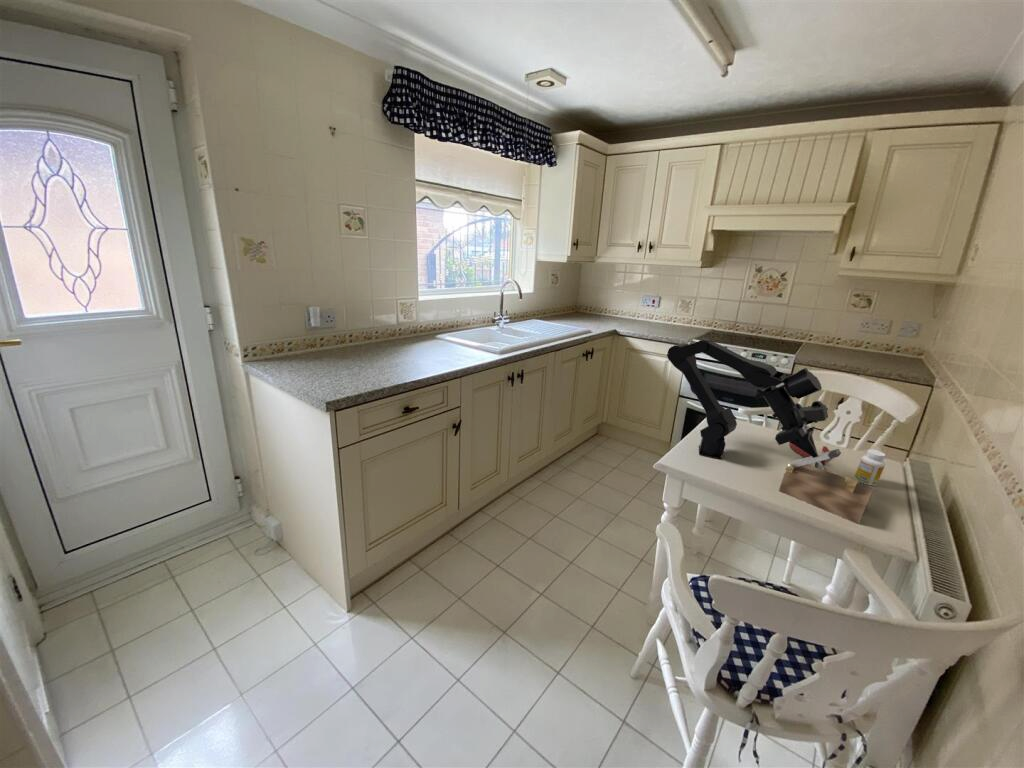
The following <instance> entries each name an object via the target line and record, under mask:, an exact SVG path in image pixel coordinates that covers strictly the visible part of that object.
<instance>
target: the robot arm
mask: <svg viewBox="0 0 1024 768" xmlns="http://www.w3.org/2000/svg"><path fill="white" fill-rule="evenodd" d="M698 354H704V355H706V356H708V357H710V358H712V359H713V360H716V361H718V362H719V363H722V364H723V365H725V366H727V367H729V368H731V369H733V370H735V371H736V372H737V373H739V374H740V375H741V376H742V377H743V378H744V380H746V381H747V382H748V383H749V384H751V385H753V386H754V387H756V388H757V389H756V393H755V397H754V398H755V400H758V399H760V398H762V397H763V398H764V400H765V401H766V402H767V404H768V406H769V408H770V409H771V411H772V412H773V414H772V417H773V418H774V419H776V418H777V420H778V421H779V423H780V425H781V427H780V431H778V433H776V434H775V438H774V441H776V443H777V444H778V446H781V445H784V444H787V443H789V442H790V443H792V444H794V445H795V446H797V447H799V448H800V449H802V450H803V451H805V452H806V453H808V454H809V455H811V456H812V457H816V456H818V454H819V453H818V450H817V447H816V444H815V441H814V438H813V433H814V431H815V429H816V426H812V427H809V425H810V424H813V423H814V424H817V423H819V422H824V421H826V420H827V419H828V418H829V412H828V410H829V408H828V407H827V405H826V404H823V402H822V401H820V400H815V401H813V402H812V403H811V406H810V405H808V406H803V405H802V404H801V403H798V402H797V403H795V401H794V399H793V398H796V399H798V400H800V399H802V398H806V397H807V396H809V395H812V394H814V393H816V392H819V391H821V390H822V389H823V387H822V384H821V382H820V380H819V378H818V377H817V376H816V375H814V373H812V372H811V371H809V369H808V368H807V367H804V368H802V369H800V370H798V371H797V372H796V373H793V374H791V375H789V374H787V373H785V372H782V371H779V370H777V368H776V367H775V366H774V365H772V364H768V363H766V362H763V361H760V360H759V361H758V360H753V359H749V358H747V357H745V356H744V355H743V356H742V355H740V353H739V354H738V353H737V352H734V351H733V350H731V349H729V348H727V347H725V346H722V345H721V344H719V343H717V342H715V341H713V340H712V339H711V338H704V339H701V340H700V339H699V340H698V341H696V342H694V343H690V344H689V343H679V344H675V345H673V346H671V347H669V348H668V350H667V354H666V358H667V359H668V361H669V362H670V363H671V365H673V367H674V368H676V369H677V370H678V371H680V372H681V373H682V374H683V375H684V378H685V379H686V381H687V383H688V384H689V386H690V388H691V390H692V391H693V393H694V395H695V396H696V398H697V400H698V401H699V403H700V405H701V406H702V408H703V410H704V412H705V418H706V423H707V426H706V427H704V428H702V429H700V431H699V432H700V437H701V440H700V444H699V445H698V455H699V456H704V457H708V458H712V459H717V460H721V459H722V456H723V455H724V451H725V448H726V441H725V439H726V438H725V437H726V436H728V435H729V434H731V433H732V432H734V431H735V430H736V428H737V425H738V423H737V419H738V418H737V416H736V415H734V413H733V411H732V409H731V407H727V408H725V407H723V406H722V405H721V404H720V402H719V401H718V399H717V398H716V396H715V394H714V393H713V391H712V389H711V387H710V386H709V384H708V383H707V381H706V379H705V377H704V376H703V374H702V372H701V371H700V369H699V367H698V364H697V356H696V355H698ZM781 384H782V385H781ZM779 385H780V386H779ZM767 386H768V387H767ZM802 406H803V407H802ZM807 425H808V426H807Z"/></svg>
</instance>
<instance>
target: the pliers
mask: <svg viewBox="0 0 1024 768" xmlns="http://www.w3.org/2000/svg"><path fill="white" fill-rule="evenodd" d="M788 445H789V448H790V450H792V451H793V452H794V453H796V454H797V455H799V456H800V457H802V458H806V457H810V456H811V455H809V454H808V453H806V452H805V451H803V450H802V449H800V448H799V447H797V446H795V445H794V444H792V443H790V442H788ZM821 451H822V453H823V452H824V453H825V452H829V451H830V450H829V448H828V447H827V446H822V449H821ZM826 462H827V460H823V461H819V462H815V463H811V464H809V465H811V466H814V467H818V468H819V469H822V470H825V469H824V466H825V465H826ZM815 465H817V466H815ZM823 465H824V466H823Z"/></svg>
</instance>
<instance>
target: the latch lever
mask: <svg viewBox="0 0 1024 768" xmlns="http://www.w3.org/2000/svg"><path fill="white" fill-rule="evenodd" d="M841 454H842V451H841V450H840V449H839V448H836V449H833V450H829V452H825V453H823V452H822V453H818V456H816V457H812V456H810V457H806V458H803V457H802V458H798V459H796V460H794V461H793V460H791V461H790V462H789V463H788V464H787V465H786V467H787V466H791V467H794V468H795V467H799V466H803V465H807V464H808V465H810V464H811V463H815V462H819V461H823V460H826V461H827V460H831V459H835V458H838V457H839V456H840V455H841Z"/></svg>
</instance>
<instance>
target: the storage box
mask: <svg viewBox="0 0 1024 768" xmlns="http://www.w3.org/2000/svg"><path fill="white" fill-rule="evenodd" d="M794 460H797V459H796V458H794V459H792V461H794ZM817 467H818V466H815V467H814V466H811V465H810V464H807V465H803V466H799V467H795V468H794V467H791V466H787V465H786V467H785V473H784V474H783V476H782V479H781V482H780V486H779V489H778V492H780V493H782V494H786V495H787V496H790V497H792V498H794V497H795V499H797V500H799V501H802V502H804V501H805V503H806V502H807V504H810V505H811V504H812V506H814V507H817V508H818V509H821V510H823V509H824V511H826V512H829V513H831V514H833V515H835V514H836V515H835V516H838V515H839V516H838V517H840V516H841V518H843V519H845V520H847V519H848V520H847V521H850V522H853V523H855V524H858V525H859V524H860V522H861V519H862V518H863V516H864V513H865V511H866V509H867V507H868V505H869V502H870V500H871V498H872V495H873V493H874V490H875V487H873V486H870V485H866V484H863V483H860V482H859V481H858V479H855V477H853V476H850V475H847V476H846V477H843V476H841V475H838V474H835V473H833V472H830V471H827V470H825V469H824V470H822V469H819V468H817ZM862 515H863V516H862Z"/></svg>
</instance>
